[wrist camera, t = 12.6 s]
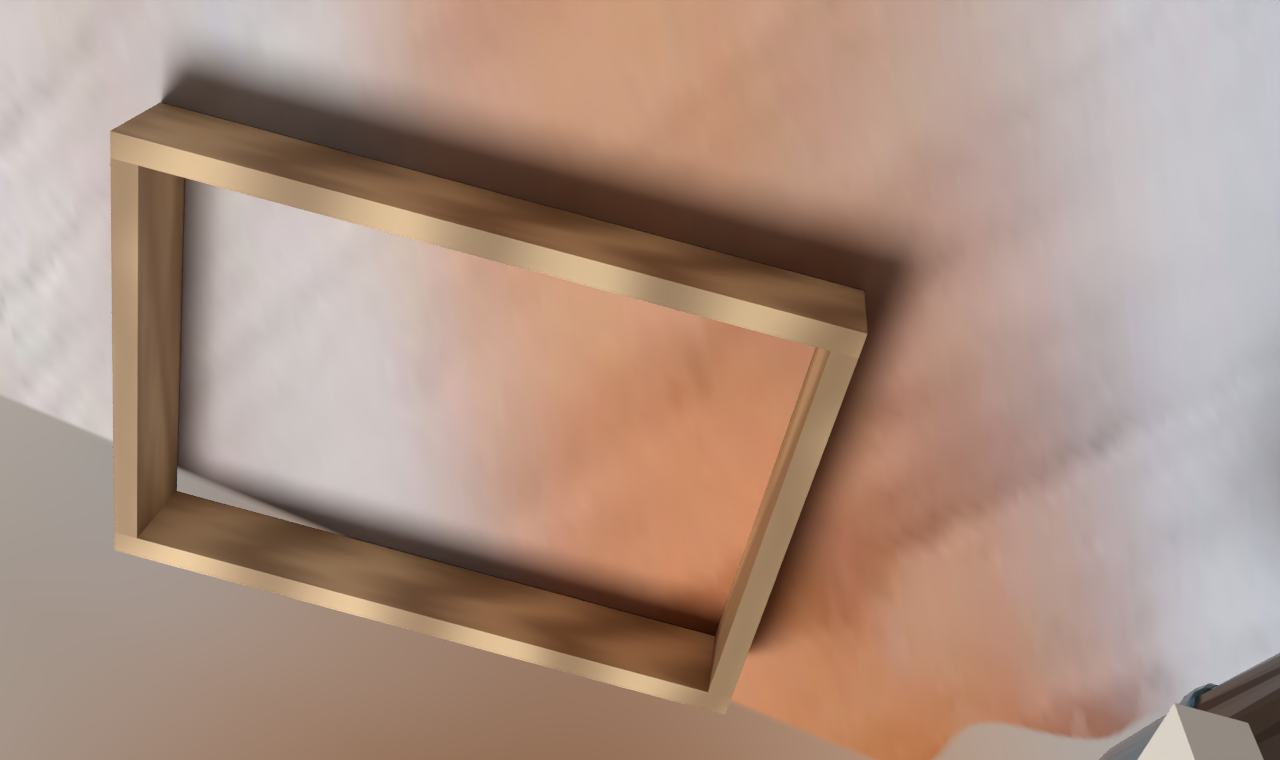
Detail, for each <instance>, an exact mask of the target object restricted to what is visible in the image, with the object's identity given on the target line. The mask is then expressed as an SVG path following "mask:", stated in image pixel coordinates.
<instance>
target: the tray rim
mask: <svg viewBox="0 0 1280 760" xmlns="http://www.w3.org/2000/svg"><path fill="white" fill-rule="evenodd" d="M110 144H111V251H112V358H113V462H114V463H113V464H114V550H116V551H120V552H123V553H128V554H131V555H134V556H138V557H142V558H145V559H149V560H153V561H157V562H160V563H164V564H168V565H172V566H175V567H179V568H183V569H186V570H190V571H194V572H198V573H201V574H205V575H208V576H212V577H216V578H220V579H223V580H227V581H231V582H234V583H238V584H242V585H245V586H249V587H253V588H257V589H260V590H264V591H268V592H272V593H275V594H279V595H283V596H287V597H290V598H294V599H297V600H301V601H305V602H309V603H313V604H316V605H320V606H323V607H327V608H331V609H334V610H338V611H342V612H346V613H350V614H353V615H357V616H360V617H364V618H368V619H371V620H375V621H379V622H383V623H386V624H390V625H394V626H398V627H401V628H405V629H409V630H412V631H416V632H420V633H424V634H427V635H431V636H434V637H438V638H442V639H446V640H449V641H453V642H457V643H460V644H464V645H468V646H472V647H475V648H479V649H483V650H486V651H490V652H494V653H497V654H501V655H505V656H509V657H512V658H516V659H520V660H523V661H528V662H531V663H534V664H538V665H542V666H546V667H549V668H553V669H557V670H560V671H564V672H568V673H572V674H576V675H579V676H583V677H587V678H590V679H594V680H597V681H601V682H605V683H609V684H613V685H616V686H620V687H623V688H627V689H631V690H635V691H638V692H642V693H646V694H649V695H653V696H657V697H661V698H664V699H668V700H672V701H675V702H679V703H683V704H686V705H690V706H694V707H698V708H701V709H705V710H709V711H713V712H716V713H720V714H723V715H725V713H726V710H727V708H728V705H729V703H730V700H731V697H732V695H733V692H734V689H735V687H736V684H737V681H738V679H739V676H740V673H741V671H742V668H743V665H744V663H745V660H746V657H747V654H748V652H749V649H750V646H751V644H752V641H753V638H754V636H755V633H756V630H757V628H758V625H759V622H760V620H761V617H762V614H763V612H764V609H765V606H766V604H767V601H768V598H769V596H770V593H771V590H772V588H773V585H774V582H775V580H776V577H777V574H778V572H779V569H780V566H781V564H782V561H783V558H784V556H785V553H786V550H787V548H788V545H789V542H790V540H791V537H792V534H793V532H794V529H795V526H796V524H797V521H798V518H799V516H800V513H801V510H802V508H803V505H804V502H805V500H806V497H807V494H808V492H809V489H810V486H811V484H812V481H813V478H814V476H815V473H816V470H817V468H818V465H819V462H820V460H821V457H822V454H823V452H824V449H825V446H826V444H827V441H828V438H829V436H830V433H831V430H832V428H833V425H834V422H835V420H836V417H837V414H838V412H839V409H840V406H841V404H842V401H843V398H844V396H845V393H846V390H847V388H848V385H849V382H850V380H851V377H852V374H853V372H854V369H855V366H856V364H857V361H858V358H859V356H860V353H861V350H862V348H863V345H864V342H865V340H866V337H867V334H868V333H867V319H866V306H865V292H864V291H862V290H859V289H855V288H851V287H847V286H844V285H840V284H836V283H832V282H829V281H825V280H821V279H818V278H814V277H810V276H806V275H803V274H799V273H795V272H791V271H788V270H784V269H780V268H776V267H773V266H769V265H765V264H762V263H758V262H754V261H750V260H747V259H743V258H739V257H735V256H732V255H728V254H724V253H720V252H717V251H713V250H709V249H705V248H702V247H698V246H694V245H691V244H687V243H683V242H679V241H676V240H672V239H668V238H664V237H661V236H657V235H653V234H649V233H646V232H642V231H638V230H635V229H631V228H627V227H623V226H620V225H616V224H612V223H608V222H605V221H601V220H597V219H593V218H590V217H586V216H582V215H579V214H575V213H571V212H567V211H564V210H560V209H556V208H552V207H549V206H545V205H541V204H537V203H534V202H530V201H526V200H522V199H519V198H515V197H511V196H508V195H504V194H500V193H496V192H493V191H489V190H485V189H481V188H478V187H474V186H470V185H466V184H463V183H459V182H455V181H452V180H448V179H444V178H440V177H437V176H433V175H429V174H425V173H422V172H418V171H414V170H410V169H407V168H403V167H399V166H395V165H392V164H388V163H384V162H381V161H377V160H373V159H369V158H366V157H362V156H358V155H354V154H351V153H347V152H343V151H339V150H336V149H332V148H328V147H325V146H321V145H317V144H313V143H310V142H306V141H302V140H298V139H295V138H291V137H287V136H283V135H280V134H276V133H272V132H269V131H265V130H261V129H257V128H254V127H250V126H246V125H242V124H239V123H235V122H231V121H227V120H224V119H220V118H216V117H212V116H209V115H205V114H201V113H198V112H194V111H190V110H186V109H183V108H179V107H175V106H171V105H168V104H164V103H159V104H157V105H155V106H153V107H152V108H150V109H148V110H146V111H145V112H143V113H141V114H139V115H138V116H136V117H134V118H132V119H131V120H129V121H127V122H125V123H124V124H122V125H120V126H118V127H117V128H115V129H113V130H111V131H110ZM184 178H187V179H191V180H194V181H198V182H202V183H206V184H209V185H213V186H217V187H221V188H224V189H228V190H232V191H235V192H239V193H243V194H247V195H250V196H254V197H258V198H262V199H265V200H269V201H273V202H277V203H280V204H284V205H288V206H291V207H295V208H299V209H303V210H306V211H310V212H314V213H318V214H321V215H325V216H329V217H332V218H336V219H340V220H344V221H347V222H351V223H355V224H359V225H362V226H366V227H370V228H374V229H377V230H381V231H385V232H388V233H392V234H396V235H400V236H403V237H407V238H411V239H415V240H418V241H422V242H426V243H429V244H433V245H437V246H441V247H444V248H448V249H452V250H456V251H459V252H463V253H467V254H471V255H474V256H478V257H482V258H485V259H489V260H493V261H497V262H500V263H504V264H508V265H512V266H515V267H519V268H523V269H526V270H530V271H534V272H538V273H541V274H545V275H549V276H553V277H556V278H560V279H564V280H568V281H571V282H575V283H579V284H582V285H586V286H590V287H594V288H597V289H601V290H605V291H609V292H612V293H616V294H620V295H623V296H627V297H631V298H635V299H638V300H642V301H646V302H650V303H653V304H657V305H661V306H664V307H668V308H672V309H676V310H679V311H683V312H687V313H691V314H694V315H698V316H702V317H706V318H709V319H713V320H717V321H720V322H724V323H728V324H732V325H735V326H739V327H743V328H747V329H750V330H754V331H758V332H761V333H765V334H769V335H773V336H776V337H780V338H784V339H788V340H791V341H795V342H799V343H803V344H806V345H810V346H814V347H816V349H815V352H814V355H813V357H812V360H811V363H810V366H809V369H808V372H807V375H806V377H805V380H804V383H803V386H802V389H801V392H800V395H799V397H798V400H797V403H796V406H795V409H794V412H793V414H792V417H791V420H790V423H789V426H788V429H787V432H786V434H785V437H784V440H783V443H782V446H781V449H780V452H779V454H778V457H777V460H776V463H775V466H774V469H773V471H772V474H771V477H770V480H769V483H768V486H767V489H766V491H765V494H764V497H763V500H762V503H761V506H760V509H759V511H758V514H757V517H756V520H755V523H754V526H753V529H752V531H751V534H750V537H749V540H748V543H747V546H746V548H745V551H744V554H743V557H742V560H741V563H740V566H739V568H738V571H737V574H736V577H735V580H734V583H733V586H732V588H731V591H730V594H729V597H728V600H727V603H726V605H725V608H724V611H723V614H722V617H721V620H720V623H719V625H718V628H717V631H716V634H715V636H712V635H708V634H705V633H701V632H697V631H694V630H690V629H686V628H682V627H679V626H675V625H671V624H668V623H664V622H660V621H656V620H653V619H649V618H645V617H642V616H638V615H634V614H630V613H627V612H623V611H619V610H616V609H612V608H608V607H605V606H601V605H597V604H593V603H590V602H586V601H582V600H579V599H575V598H571V597H567V596H564V595H560V594H556V593H553V592H549V591H545V590H541V589H538V588H534V587H530V586H527V585H523V584H519V583H515V582H512V581H508V580H504V579H501V578H497V577H493V576H490V575H486V574H482V573H478V572H475V571H471V570H467V569H464V568H460V567H456V566H452V565H449V564H445V563H441V562H438V561H434V560H430V559H426V558H423V557H419V556H415V555H412V554H408V553H404V552H400V551H397V550H393V549H389V548H386V547H382V546H378V545H375V544H371V543H367V542H363V541H360V540H356V539H352V538H349V537H345V536H341V535H337V534H334V533H330V532H326V531H323V530H319V529H315V528H311V527H308V526H304V525H300V524H297V523H293V522H289V521H285V520H282V519H278V518H274V517H270V516H267V515H263V514H259V513H256V512H252V511H248V510H245V509H241V508H237V507H234V506H229V505H226V504H222V503H219V502H215V501H211V500H207V499H203V498H200V497H196V496H193V495H189V494H185V493H181V492H178V491H177V454H178V415H179V375H180V336H181V297H182V257H183V218H184Z"/></svg>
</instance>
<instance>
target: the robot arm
mask: <svg viewBox="0 0 1280 760" xmlns="http://www.w3.org/2000/svg"><path fill="white" fill-rule="evenodd" d="M1099 760H1280V653H1279V654H1277V655H1275V656H1273V657H1271V658H1269V659H1267V660H1265V661H1264V662H1262V663H1260V664H1258V665H1256V666H1254V667H1252V668H1250V669H1248V670H1247V671H1245V672H1243V673H1241V674H1239V675H1237V676H1235V677H1233V678H1231V679H1230V680H1228V681H1226V682H1224V683H1222V684H1220V685H1214V684H1211V683H1210V684H1207V685H1204V686H1201V687H1199V688H1196V689H1195V690H1193V691H1192V692H1190V693H1189V694H1188V695H1186V696H1185V697H1184V698H1183V699H1182V701H1181V702H1180V704H1176V703H1174V704H1173V706H1172V708H1171V709H1170V711H1169V712H1168V714H1166V715H1165V716H1163V717H1161V718H1160V719H1158V720H1156V721H1155V722H1153V723H1152V724H1150V725H1149V726H1147V727H1145V728H1143V729H1142V730H1140V731H1139V732H1137V733H1135V734H1134V735H1132V736H1130V737H1129V738H1127V739H1125V740H1124V741H1122V742H1120V743H1119V744H1117V745H1116V746H1114V747H1112V748H1111V749H1110V750H1109V751H1107V753H1105V754H1104V755H1103V756H1102V757H1101V758H1100V759H1099Z"/></svg>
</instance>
